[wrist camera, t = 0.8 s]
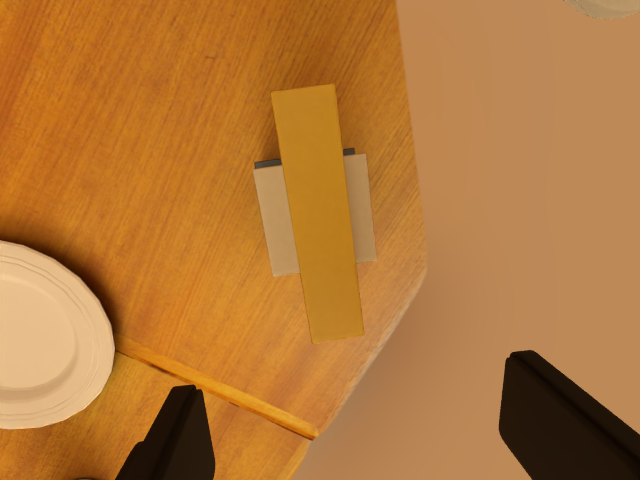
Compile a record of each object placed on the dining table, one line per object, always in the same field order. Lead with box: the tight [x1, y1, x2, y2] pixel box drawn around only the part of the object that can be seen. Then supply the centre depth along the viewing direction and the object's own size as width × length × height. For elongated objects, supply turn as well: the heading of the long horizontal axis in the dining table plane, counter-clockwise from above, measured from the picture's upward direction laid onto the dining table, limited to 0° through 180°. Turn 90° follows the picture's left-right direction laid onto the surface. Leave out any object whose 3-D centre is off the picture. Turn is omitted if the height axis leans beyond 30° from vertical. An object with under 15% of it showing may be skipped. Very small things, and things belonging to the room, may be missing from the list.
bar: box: [270, 83, 364, 344], centre depth 18 cm, size 14×3×3 cm, turn 8°
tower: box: [253, 148, 377, 277], centre depth 26 cm, size 8×8×12 cm
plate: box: [0, 240, 116, 429], centre depth 31 cm, size 21×21×2 cm
